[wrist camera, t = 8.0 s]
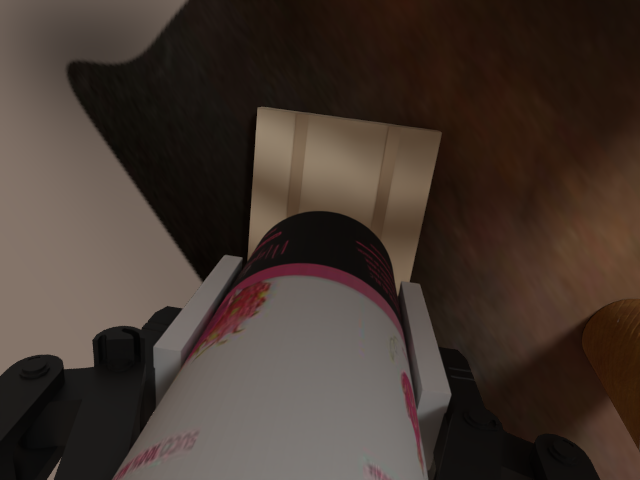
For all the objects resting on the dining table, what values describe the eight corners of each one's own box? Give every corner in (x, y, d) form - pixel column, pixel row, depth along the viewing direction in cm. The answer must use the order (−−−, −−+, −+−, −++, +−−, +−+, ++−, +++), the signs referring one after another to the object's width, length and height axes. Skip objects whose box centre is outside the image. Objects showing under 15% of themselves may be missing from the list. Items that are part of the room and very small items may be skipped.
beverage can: (240, 216, 20) (-63, 563, 6) (385, 198, 19) (459, 556, 5) (267, 340, 22) (99, 810, 8) (398, 329, 21) (475, 839, 7)
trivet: (261, 106, 29) (257, 107, 28) (439, 130, 29) (442, 132, 28) (250, 266, 34) (246, 273, 32) (404, 290, 33) (406, 298, 32)
